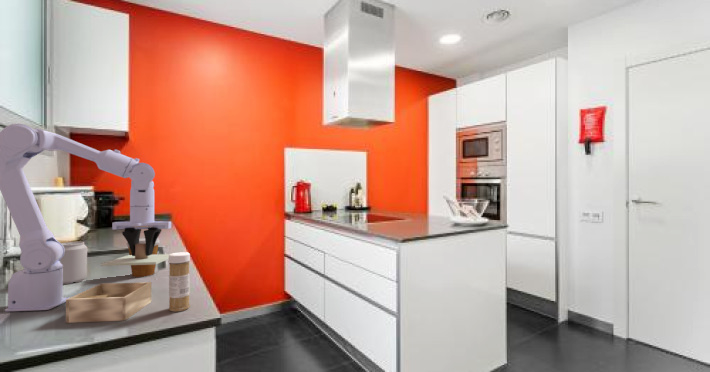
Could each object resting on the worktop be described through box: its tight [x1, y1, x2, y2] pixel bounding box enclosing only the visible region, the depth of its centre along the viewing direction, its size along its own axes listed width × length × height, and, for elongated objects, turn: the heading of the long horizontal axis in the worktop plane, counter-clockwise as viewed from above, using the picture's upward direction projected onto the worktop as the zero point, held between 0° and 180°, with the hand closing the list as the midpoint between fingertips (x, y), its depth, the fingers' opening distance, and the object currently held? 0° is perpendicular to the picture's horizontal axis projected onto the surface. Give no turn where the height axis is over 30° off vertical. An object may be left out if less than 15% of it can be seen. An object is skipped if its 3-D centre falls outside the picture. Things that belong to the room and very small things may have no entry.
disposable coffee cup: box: [126, 236, 161, 278], centre depth 112 cm, size 10×10×12 cm
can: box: [59, 241, 88, 285], centre depth 104 cm, size 8×8×12 cm
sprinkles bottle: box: [168, 251, 191, 313], centre depth 81 cm, size 5×5×14 cm
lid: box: [100, 243, 171, 267], centre depth 93 cm, size 13×13×5 cm
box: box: [65, 281, 152, 324], centre depth 79 cm, size 12×12×5 cm
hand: (142, 255), depth 93 cm, fingers closed on lid, 3 cm apart
